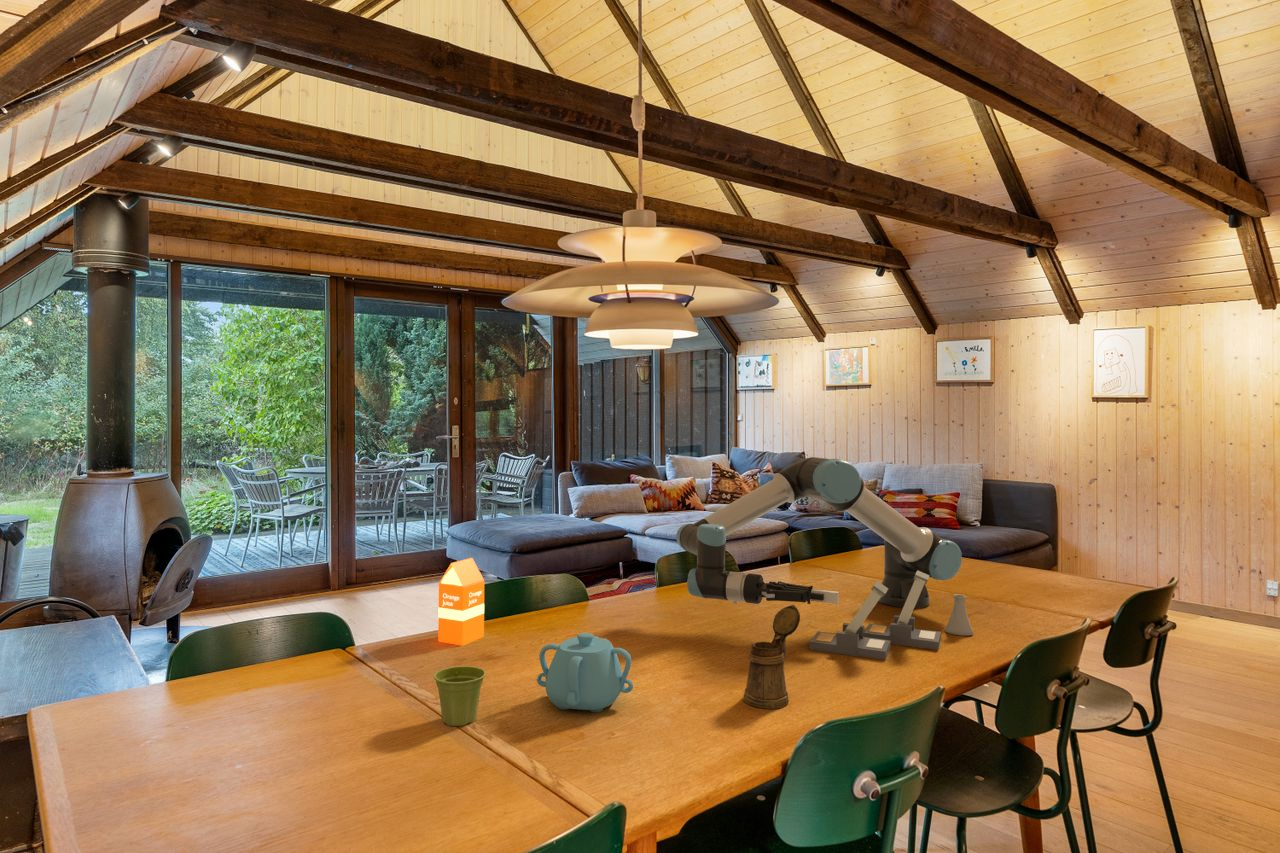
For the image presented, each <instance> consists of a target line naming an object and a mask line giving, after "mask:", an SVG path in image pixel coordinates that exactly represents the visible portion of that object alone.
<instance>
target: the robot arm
mask: <svg viewBox="0 0 1280 853" xmlns="http://www.w3.org/2000/svg"><path fill="white" fill-rule="evenodd" d="M865 483H866V482H865V480H864V479H863V478H862V477H861V476H860V473H859V471H858V469H857V468H856V466H854V465H853V464H851V463H850V462H848V461H846V460H844V459H838V458H822V457H813V456H811V457H807V458H804V459H800V460H798V461H796V462H794V463H793V464H791V465H789V466H787V467H785V468H784V469H783V468H782V470H780V471H778V472H777V473H774V474H773V479H772V480H769V481H767V482H766V483H764V484H763V485H760V486H759V487H757V488H755V489H753V490H750V491H749V492H747V494H745V495H743V496H741V497H739V498H737V499H735V500H734V501H732V502H731V503H728V504H726V505H725V506H723V507H721V508H720V509H718V510H716V511H715V512H713V513H711V514H709V515H707V516H705V517H704V518H702V519H699V520H697V521H696V522H694V523H685V524H683V525H681V526H680V527H679V528H678V530H677V532H676V534H675V535H676V536H675V540H676V542H677V544H678V546H679V547H680V548H682V550H684V551H685V552H688V553H691V554H694V555H695V556H696V567H693V568H691V569H690V570H689V572H688V574H687V579H686V580H687V581H686V586H687V591H688V593H689V594H690V596H693V597H698V598H703V599H711V600H712V599H713V600H723V601H732V602H733V604H737V603H738V602H739V603H744V602H745V603H746V604H755V605H759V604H760V603H762V600H763V598H765V600H766V601H767V602H775V601H776V602H777V601H778V602H792V603H793V602H794V603H807V605H811V602H817V603H824V604H825V603H826V604H835V605H838V604H839V602H840V601H839V597H840V596H839V591H834V590H827V589H817V588H816V589H815V588H814V587H813V585H810V586H806V585H800V584H795V583H794V584H793V583H787V582H783V581H777V582H776V581H768V582H766V583H765V581H764V577H763V576H762V574H758V573H757V574H756V573H746V572H740V571H739V572H738V571H727V570H726V548H727V546H726V544H727V536H729V535H730V534H731V535H732V533H734V532H735V531H737V530H740V529H741V528H744V527H745V526H746V525H748V524H750V523H752V522H753V521H755V520H757V519H759V518H760V517H762V516H764V515H766V514H767V513H769V512H770V511H773V510H774V509H776V508H778V507H780V506H781V505H784V504H785V503H790V504H793V503H794V502H796V501H798V500H800V499H803V498H812V499H818V500H820V501H822V502H823V503H825V504H826V505H828V506H829V507H831V508H832V509H834V510H835V511H836V512H839V513H843V512H847V513H848V514H849V515H851V516H852V517H853V518H855V519H856V520H858V521H859V522H860V523H862V524H863V525H864V526H866V527H868V529H870V530H871V531H872V532H874V533H875V534H877V536H879V537H881V538H882V539H883V540H884V541H883V543H884V566H883V567H884V574H883V579H882V582H881V584H882V585H884V586H885V587H887V588H888V590H887V592H886V594H885V595H884V597H883V598H882V597H881V598H880V599H879V601H878V603H881V604H884V605H887V606H889V607H890V606H891V607H897V608H903V607H904V605H905V602H906V600H907V598H908V595H909V593H910V590H911V588H912V586H913V583H914V581H915V579H914V576H915V574H916V572H917V570H918V571H920V572H923V573H925V574H927V575H930V576H929V578H932V579H933V580H936V581H948V580H951V579H952V578H954V577H955V576H956V575H957V574H958V573H959V571H960V569H961V566H962V562H963V558H962V555H963V553H962V551H961V549H960V547H959V546H960V545H958V543H955V542H954V541H952V540H950V539H944V538H942V537H940V536H939V535H938V534H936V532H934V531H932V530H931V529H930V528H928V527H925V526H922V527H919V526H917V525H916V524H914V523H913V522H912V521H910V520H909V519H908V518H906V517H905V516H904V515H902V514H901V513H900V512H898V511H897V510H896V509H894V508H893V507H892V506H890V504H888V503H887V502H885V501H884V500H883V499H881V498H880V497H879V496H878V495H876V494H874V493H873V492H872V491H871V490H869V489H868V488H867V487H866V486H865ZM928 591H929V590H928V589H927V584H924V586H923V588H922V591H921V593H920V596H919V598H918V600H917V603H916V605H915V607H914V609H915V608H916V609H920V608H925V607H929V606H930V595H929V592H928Z"/></svg>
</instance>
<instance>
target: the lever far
mask: <svg viewBox="0 0 1280 853" xmlns="http://www.w3.org/2000/svg"><path fill="white" fill-rule="evenodd" d="M929 576H930V575H927V574H925V573H923V572H920V571H918V570H917V572H916V574H915V576H914V579H915V581H914V583H913V586H912V588H911V590H910V593H909V595H908V598H907V600H906V602H905V605H904V607H902V609H901V612H900V615H899V616H900V617H899V619H898V621H897V624H905V625H907V624H908V622H909V619H910V617H912V614H913V612H914V610H915V608H914V607H915V605H916V603H917V600H918V598H919V596H920V593H921V591H922V588H923V586H924V584H925V585H927V583H928V581H929V578H930V577H929Z"/></svg>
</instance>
